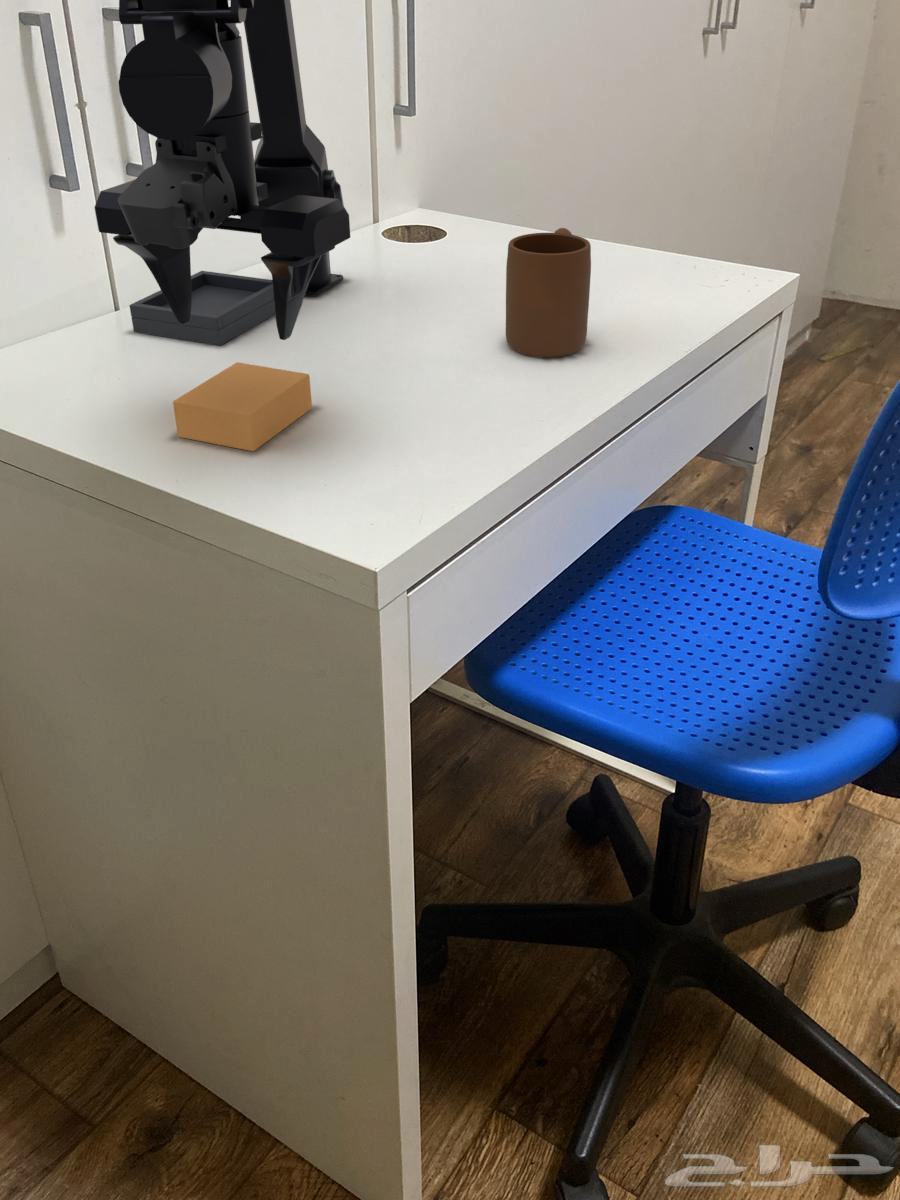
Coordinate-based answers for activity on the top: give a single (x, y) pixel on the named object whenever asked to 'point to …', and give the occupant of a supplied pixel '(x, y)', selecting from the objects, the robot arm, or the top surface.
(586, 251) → the mug
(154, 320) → the dark gray tray
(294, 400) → the foam pad
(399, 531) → the top surface
